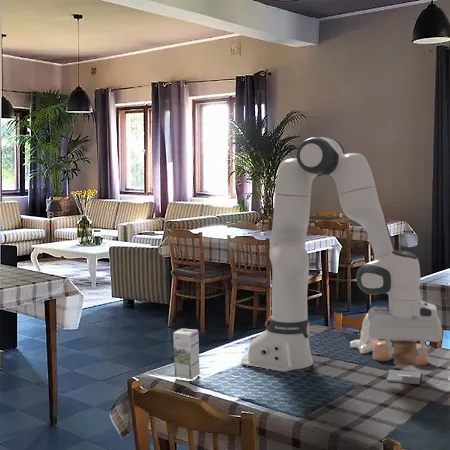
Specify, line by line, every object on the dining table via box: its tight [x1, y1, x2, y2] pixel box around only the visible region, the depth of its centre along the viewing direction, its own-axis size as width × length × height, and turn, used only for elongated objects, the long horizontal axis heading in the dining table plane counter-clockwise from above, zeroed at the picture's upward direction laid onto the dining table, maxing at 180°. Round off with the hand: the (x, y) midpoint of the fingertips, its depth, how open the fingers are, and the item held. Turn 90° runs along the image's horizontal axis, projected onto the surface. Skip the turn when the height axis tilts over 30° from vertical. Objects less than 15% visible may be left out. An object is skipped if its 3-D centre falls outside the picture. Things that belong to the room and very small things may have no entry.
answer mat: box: [386, 369, 422, 385], centre depth 196 cm, size 9×9×1 cm
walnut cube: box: [393, 340, 418, 366], centre depth 196 cm, size 6×6×6 cm
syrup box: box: [172, 328, 201, 379], centre depth 200 cm, size 6×6×14 cm
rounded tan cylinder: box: [372, 339, 393, 362], centre depth 216 cm, size 6×6×5 cm
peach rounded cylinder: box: [416, 343, 429, 366], centre depth 210 cm, size 6×6×5 cm
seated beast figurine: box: [349, 313, 379, 354], centre depth 226 cm, size 10×9×12 cm
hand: (405, 354), depth 196 cm, fingers closed on walnut cube, 6 cm apart
